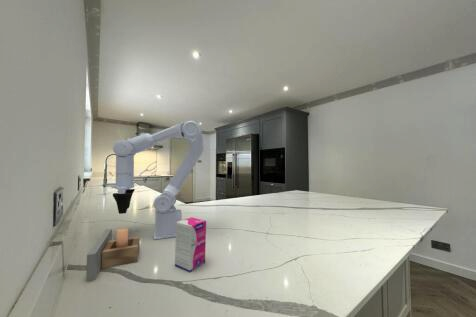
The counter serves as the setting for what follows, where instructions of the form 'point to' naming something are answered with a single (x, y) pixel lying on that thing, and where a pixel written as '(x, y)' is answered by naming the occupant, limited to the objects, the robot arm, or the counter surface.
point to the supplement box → (190, 243)
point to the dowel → (122, 238)
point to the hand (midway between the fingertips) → (124, 210)
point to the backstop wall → (97, 255)
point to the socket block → (120, 253)
